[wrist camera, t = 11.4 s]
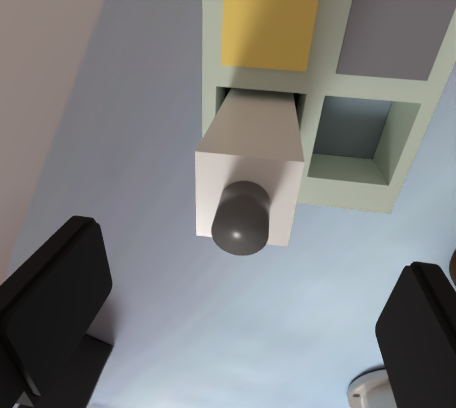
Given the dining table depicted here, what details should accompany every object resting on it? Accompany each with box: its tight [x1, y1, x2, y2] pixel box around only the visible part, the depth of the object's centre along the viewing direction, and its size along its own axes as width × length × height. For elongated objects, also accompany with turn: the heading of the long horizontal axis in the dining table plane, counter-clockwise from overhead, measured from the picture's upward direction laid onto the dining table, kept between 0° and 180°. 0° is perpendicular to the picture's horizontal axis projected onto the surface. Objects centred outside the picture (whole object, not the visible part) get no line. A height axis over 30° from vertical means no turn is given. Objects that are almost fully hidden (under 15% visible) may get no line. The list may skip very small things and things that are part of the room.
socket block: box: [202, 0, 456, 214], centre depth 19 cm, size 13×13×4 cm
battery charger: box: [17, 334, 113, 408], centre depth 38 cm, size 7×4×11 cm, turn 60°
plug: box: [195, 88, 305, 255], centre depth 16 cm, size 4×4×14 cm
